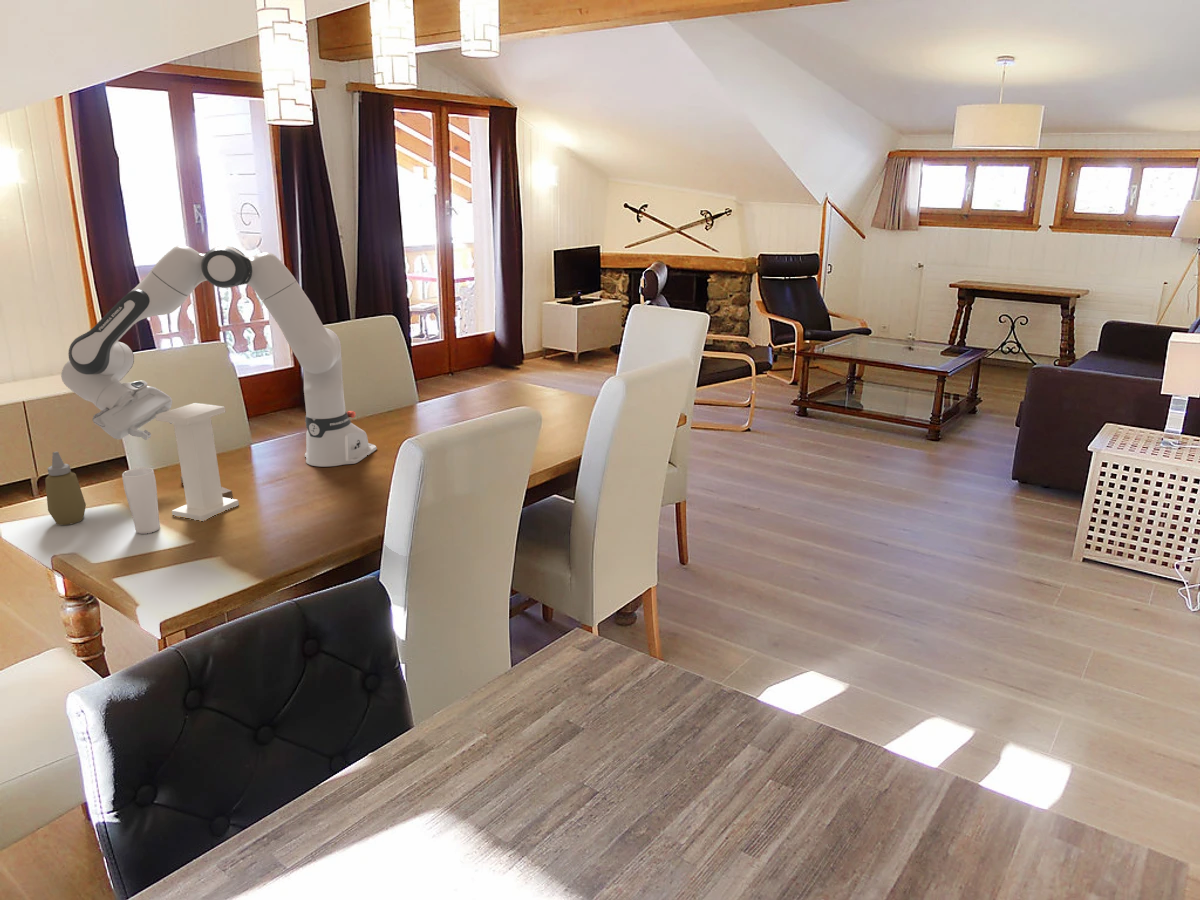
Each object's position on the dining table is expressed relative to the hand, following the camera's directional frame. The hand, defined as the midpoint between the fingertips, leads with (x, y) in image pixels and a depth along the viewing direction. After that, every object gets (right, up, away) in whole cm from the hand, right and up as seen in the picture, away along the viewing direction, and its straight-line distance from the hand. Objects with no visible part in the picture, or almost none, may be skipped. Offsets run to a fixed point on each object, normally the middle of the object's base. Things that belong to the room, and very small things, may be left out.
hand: (161, 428), depth 233 cm
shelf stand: (+18, -21, -13) cm, 31 cm away
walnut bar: (+12, -17, +1) cm, 21 cm away
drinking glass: (+10, -25, -25) cm, 37 cm away
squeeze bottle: (-13, -24, -19) cm, 33 cm away
